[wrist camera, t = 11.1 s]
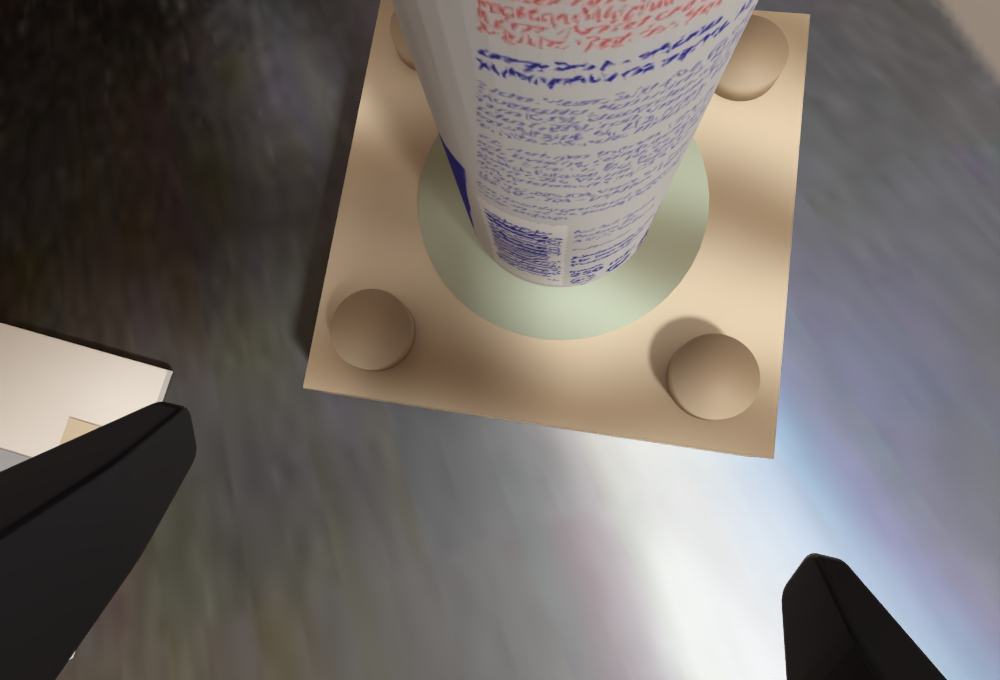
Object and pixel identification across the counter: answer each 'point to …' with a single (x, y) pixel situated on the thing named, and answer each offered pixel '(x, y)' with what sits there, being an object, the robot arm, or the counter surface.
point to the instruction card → (64, 391)
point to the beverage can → (567, 117)
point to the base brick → (578, 309)
